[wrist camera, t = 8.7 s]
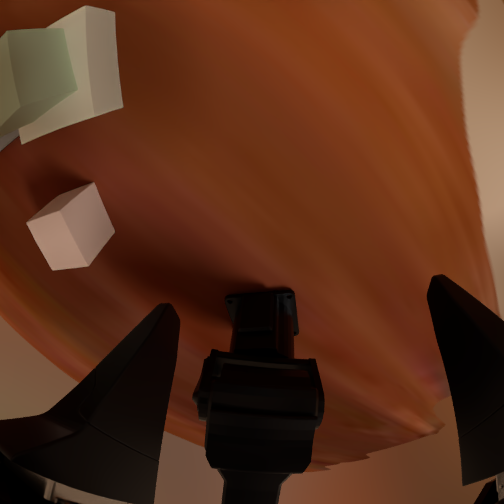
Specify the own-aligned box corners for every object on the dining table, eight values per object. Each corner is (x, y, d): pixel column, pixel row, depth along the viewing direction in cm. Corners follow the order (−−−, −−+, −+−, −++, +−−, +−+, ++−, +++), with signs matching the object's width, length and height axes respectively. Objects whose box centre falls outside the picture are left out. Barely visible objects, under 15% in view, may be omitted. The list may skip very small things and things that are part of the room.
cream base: (125, 106, 16) (94, 116, 13) (52, 129, 17) (21, 144, 13) (117, 12, 11) (85, 5, 8) (42, 49, 12) (10, 53, 9)
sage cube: (63, 28, 9) (6, 30, 5) (78, 89, 12) (20, 106, 8) (19, 67, 10) (-32, 81, 6) (33, 122, 13) (-17, 146, 9)
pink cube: (115, 231, 22) (88, 266, 18) (79, 238, 23) (52, 270, 19) (94, 181, 19) (59, 210, 15) (58, 194, 20) (26, 222, 16)
